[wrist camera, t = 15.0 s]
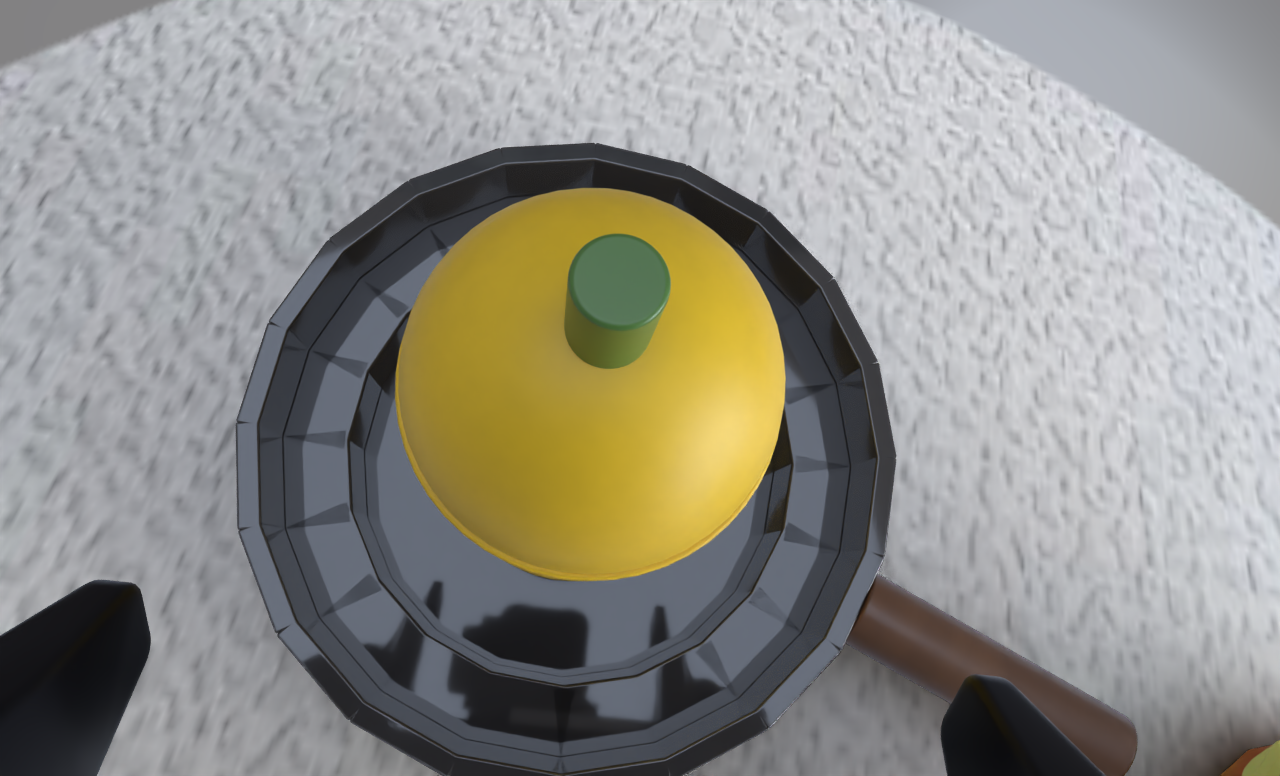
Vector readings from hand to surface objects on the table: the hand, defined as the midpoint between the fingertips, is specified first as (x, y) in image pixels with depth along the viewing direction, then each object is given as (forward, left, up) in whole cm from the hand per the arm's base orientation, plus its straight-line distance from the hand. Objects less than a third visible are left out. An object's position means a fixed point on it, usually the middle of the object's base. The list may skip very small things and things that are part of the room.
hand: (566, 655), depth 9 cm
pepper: (+1, -4, -13) cm, 13 cm away
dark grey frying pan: (+2, -4, -13) cm, 14 cm away
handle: (-10, -4, -11) cm, 15 cm away
